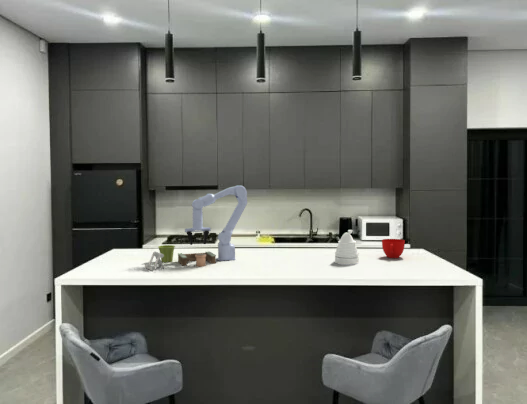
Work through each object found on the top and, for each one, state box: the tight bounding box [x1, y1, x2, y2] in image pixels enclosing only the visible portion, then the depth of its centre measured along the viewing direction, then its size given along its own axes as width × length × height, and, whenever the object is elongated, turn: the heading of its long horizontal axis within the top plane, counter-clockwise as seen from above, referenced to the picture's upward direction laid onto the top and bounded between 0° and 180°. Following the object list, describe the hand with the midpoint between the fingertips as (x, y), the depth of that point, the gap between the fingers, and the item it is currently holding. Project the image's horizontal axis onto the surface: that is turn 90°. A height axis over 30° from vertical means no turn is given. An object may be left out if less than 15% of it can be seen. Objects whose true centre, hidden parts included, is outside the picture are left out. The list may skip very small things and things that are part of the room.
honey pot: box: [334, 229, 360, 266], centre depth 249 cm, size 13×13×18 cm
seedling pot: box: [195, 254, 207, 268], centre depth 242 cm, size 6×6×6 cm
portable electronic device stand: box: [144, 251, 165, 272], centre depth 234 cm, size 9×8×8 cm
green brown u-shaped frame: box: [177, 250, 217, 266], centre depth 252 cm, size 18×14×5 cm
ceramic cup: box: [381, 238, 406, 259], centre depth 264 cm, size 13×17×10 cm
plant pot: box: [157, 244, 176, 263], centre depth 255 cm, size 9×9×9 cm
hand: (197, 244), depth 257 cm, fingers open, 7 cm apart
